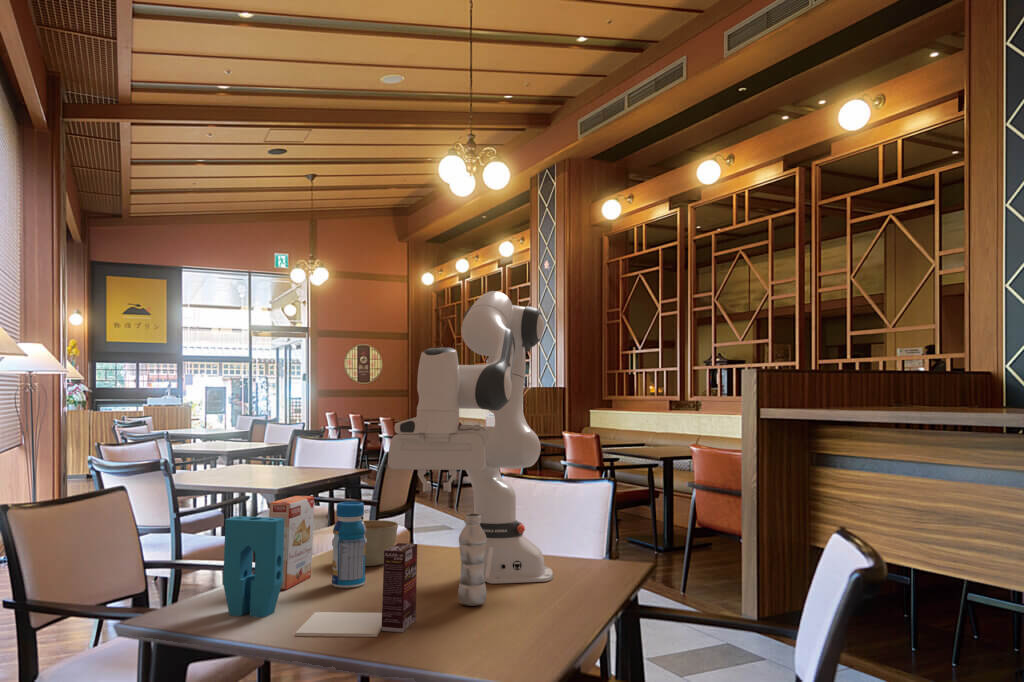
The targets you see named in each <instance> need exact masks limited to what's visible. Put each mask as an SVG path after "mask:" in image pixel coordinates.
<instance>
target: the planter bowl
mask: <svg viewBox="0 0 1024 682" xmlns="http://www.w3.org/2000/svg"><path fill="white" fill-rule="evenodd" d="M363 522H364V524H365V526H366V533H365V537H366V539H367V544H366V553H365V567H372V566H381V565H384V550H387V549H389V548H391V547H393V546H394V545H396V544H395V543H396V541H397V540H396V539H397V536H398V535H397V534H398V528H399V523H398V522H396V521H393V520H392V521H391V520H385V519H384V520H381V519H379V520H376V519H375V520H373V519H371V520H363Z"/></svg>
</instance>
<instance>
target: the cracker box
mask: <svg viewBox="0 0 1024 682" xmlns="http://www.w3.org/2000/svg"><path fill="white" fill-rule="evenodd" d="M268 511H269V512H268V513H269V514H268V517H272V518H285V520H284V552H283V582H282V585H281V589H280V591H281V590H282V591H283V590H285V591H286V590H288V589H290V588H292V587H294V586H297V584H300V583H302V582H304V581H306V580H307V579H310V578H311V577H312V562H313V561H312V560H313V543H314V541H313V538H314V536H313V535H314V517H315V516H314V514H315V496H312V495H293V496H289V497H286V498H282V499H279V500H275V501H270V502H269V510H268Z"/></svg>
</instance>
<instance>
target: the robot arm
mask: <svg viewBox="0 0 1024 682" xmlns="http://www.w3.org/2000/svg"><path fill="white" fill-rule="evenodd" d="M462 319H463V320H462V324H461V328H460V330H461V331H460V334H461V337H462V340H463V342H464V344H465V346H466V347H468V349H470V350H471V351H472V352H474V353H475V354H477V355H480V356H484V357H488V358H487V362H486V364H459V357H458V352H457V349H455V348H453V347H448V346H447V347H446V346H445V347H444V346H443V347H441V346H440V347H431V348H427V349H424V350H423V351H421V354H420V358H419V362H418V370H417V385H416V386H417V387H416V388H417V389H416V390H417V394H418V404H417V406H416V415H415V416H416V417H409V418H407V419H404V420H402V421H399V422H396V423H395V424H394V432H395V433H396V434H395V435H393V436H392V437H391V440H390V442H389V447H388V455H387V456H388V457H387V465H388V467H389V468H390V469H391V470H417V476H418V479H420V482H421V484H422V492H423V493H430V492H432V491H431V490H432V482H428V481H427V479H426V477H425V476H424V475H426V474H427V470H428V471H429V470H430V471H431V470H433V471H435V470H437V471H439V470H442V471H443V470H445V471H446V470H447V471H448V475H449V476H450V477H449V479H448V481H447V482H443V484H442V487H443V489H442V491H443V493H451V492H452V483H453V481H454V480H455V478H456V476H457V471H465V472H466V474H467V476H468V478H469V481H470V484H471V486H472V487H471V488H472V494H473V514H480V515H481V523H480V526H481V528H482V529H483V531H484V532H485V534H486V538H487V540H486V548H485V557H484V576H485V582H486V583H488V584H514V583H515V584H516V583H517V584H518V583H540V582H541V583H542V582H549V581H550V580H552V579H553V577H554V574H553V573H554V572H553V570H552V568H550V567H549V566H546V564H545V563H546V562H545V559H544V555H543V552H542V551H541V549H540V548H539V547H538V546H537V545H536V544H534V543H533V542H532V541H531V540H529V539H528V538H527V537H526V536H524V535H523V534H524V532H525V530H526V528H525V525H524V524H523V523H522V522H521V521H519V520H517V519H516V516H517V514H516V512H517V511H516V510H517V509H516V508H517V507H516V505H517V504H516V501H517V498H516V497H517V494H516V491H515V489H514V488H513V486H511V485H510V484H509V483H507V482H506V481H505V480H504V478H503V477H502V475H501V471H500V469H509V470H518V469H525V468H531V467H532V466H534V465H535V464H536V462H537V461H538V460H539V457H540V455H541V441H540V439H539V436H538V435H537V433H536V432H535V431H534V430H533V429H532V428H531V427H530V426H529V424H528V423H527V420H526V418H525V415H524V407H523V405H524V404H523V402H524V389H525V388H524V387H525V380H526V379H525V378H526V366H527V364H526V353H528V352H530V351H531V349H532V348H533V347H535V346H536V345H537V344H538V343H539V342H540V341H541V340H542V336H543V334H544V329H545V322H544V318H543V313H542V312H541V311H540V309H539V308H536V307H534V306H529V305H527V306H523V305H521V306H520V305H516V304H513V303H512V301H511V299H510V298H509V296H508V295H506V294H505V293H503V292H501V291H497V290H491V291H488V292H487V291H486V292H485V293H483V294H481V296H479V297H478V298H477V300H476V301H475V302H474V303H473V304H472V305H471V306H469V308H467V310H466V311H465V312H464V315H463V318H462ZM460 409H467V410H469V409H472V410H478V409H480V410H485V411H489V412H491V414H493V416H494V426H488V425H481V424H474V425H470V424H460Z"/></svg>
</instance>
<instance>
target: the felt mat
mask: <svg viewBox="0 0 1024 682" xmlns="http://www.w3.org/2000/svg"><path fill="white" fill-rule="evenodd" d="M381 627H382V612H352V611H351V612H345V611H343V612H342V611H341V612H338V611H336V612H334V611H333V612H332V611H328V612H327V611H324V612H323V611H322V612H321V611H315V612H314V613H313V614H312V615H311V616H310V617H309V618H308V619H307V620H306V621H305V622H304V623H303V624H302V625H301V626H300V627H299V628H298V630H296V632H295V633H294V635H295V637H342V638H343V637H344V638H345V637H347V638H348V637H350V638H351V637H353V638H354V637H355V638H357V637H359V638H360V637H361V638H362V637H363V638H364V637H365V638H377V637H378V636H379V634H380V633H381Z"/></svg>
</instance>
